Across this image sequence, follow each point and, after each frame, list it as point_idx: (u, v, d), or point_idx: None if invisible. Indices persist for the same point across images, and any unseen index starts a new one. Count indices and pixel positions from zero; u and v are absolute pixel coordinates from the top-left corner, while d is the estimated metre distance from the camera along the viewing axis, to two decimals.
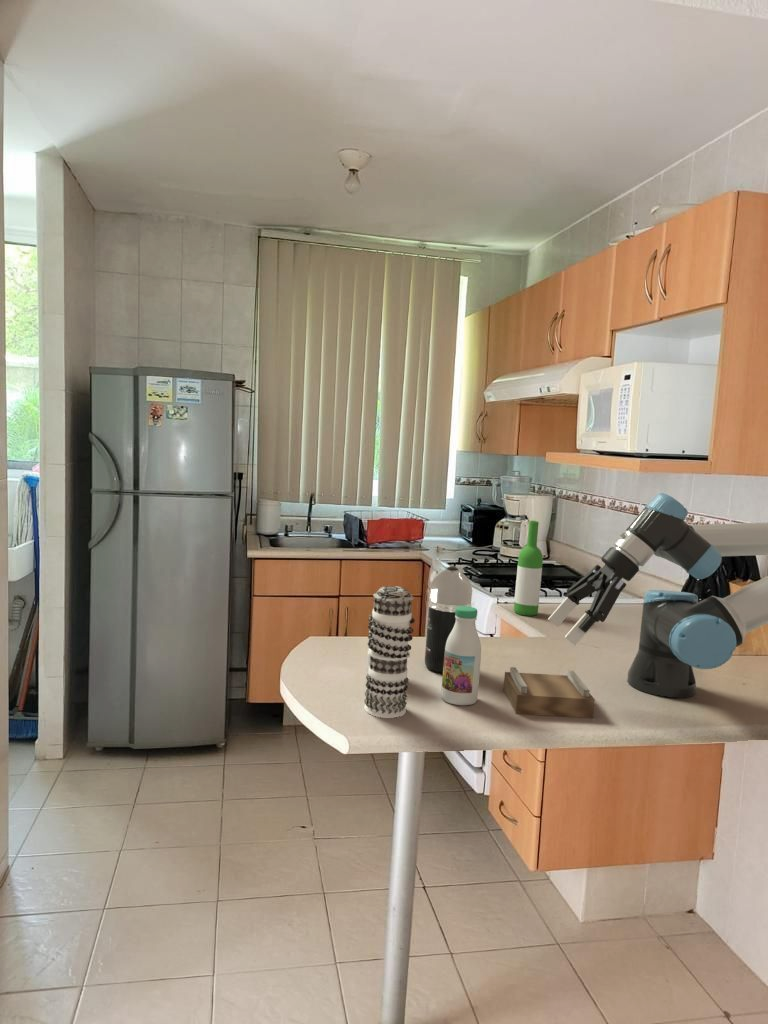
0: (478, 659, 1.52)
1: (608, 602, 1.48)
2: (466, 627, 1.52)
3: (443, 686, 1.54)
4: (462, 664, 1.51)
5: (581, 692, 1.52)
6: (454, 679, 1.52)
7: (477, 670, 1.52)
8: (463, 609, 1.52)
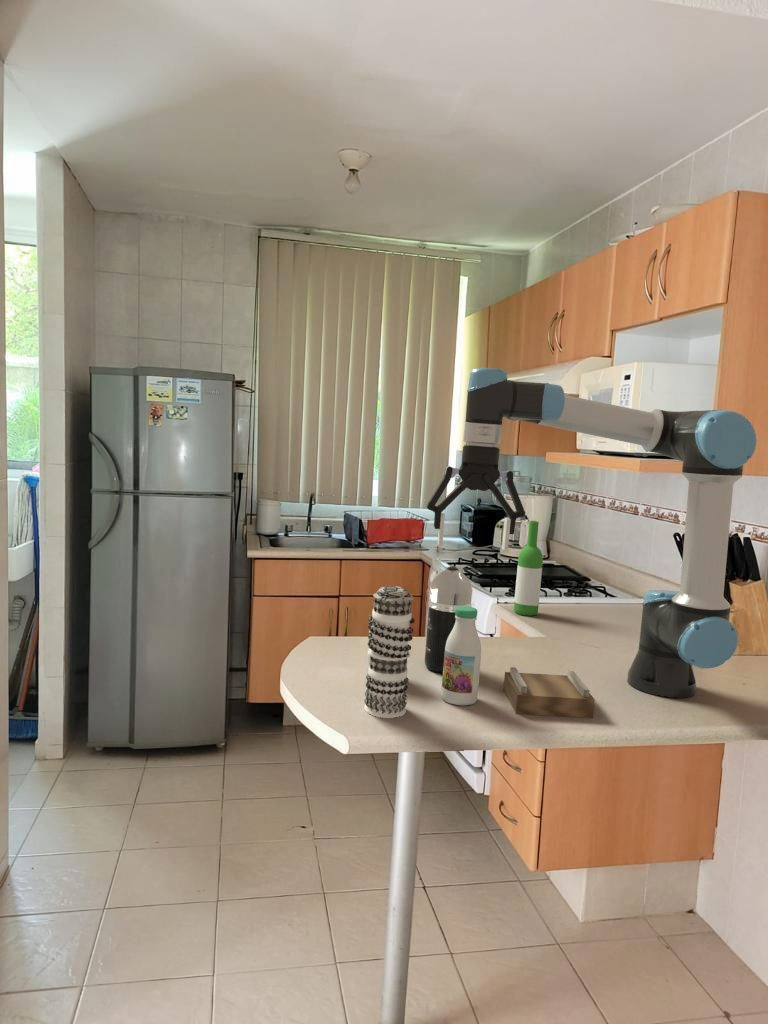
0: (478, 659, 1.52)
1: None
2: (466, 627, 1.52)
3: (443, 686, 1.54)
4: (462, 664, 1.51)
5: (581, 692, 1.52)
6: (454, 679, 1.52)
7: (477, 670, 1.52)
8: (463, 609, 1.52)
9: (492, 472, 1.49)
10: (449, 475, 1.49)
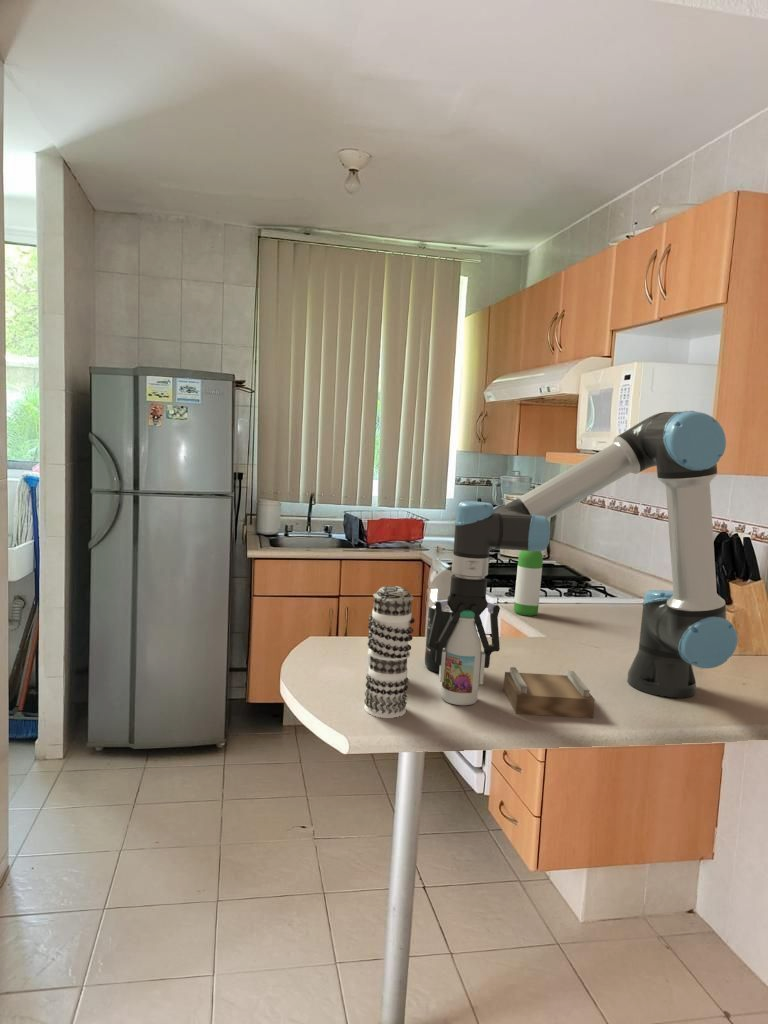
0: (478, 659, 1.52)
1: None
2: (466, 627, 1.52)
3: (443, 686, 1.54)
4: (462, 664, 1.51)
5: (581, 692, 1.52)
6: (454, 679, 1.52)
7: (477, 670, 1.52)
8: None
9: (480, 602, 1.52)
10: (439, 610, 1.52)
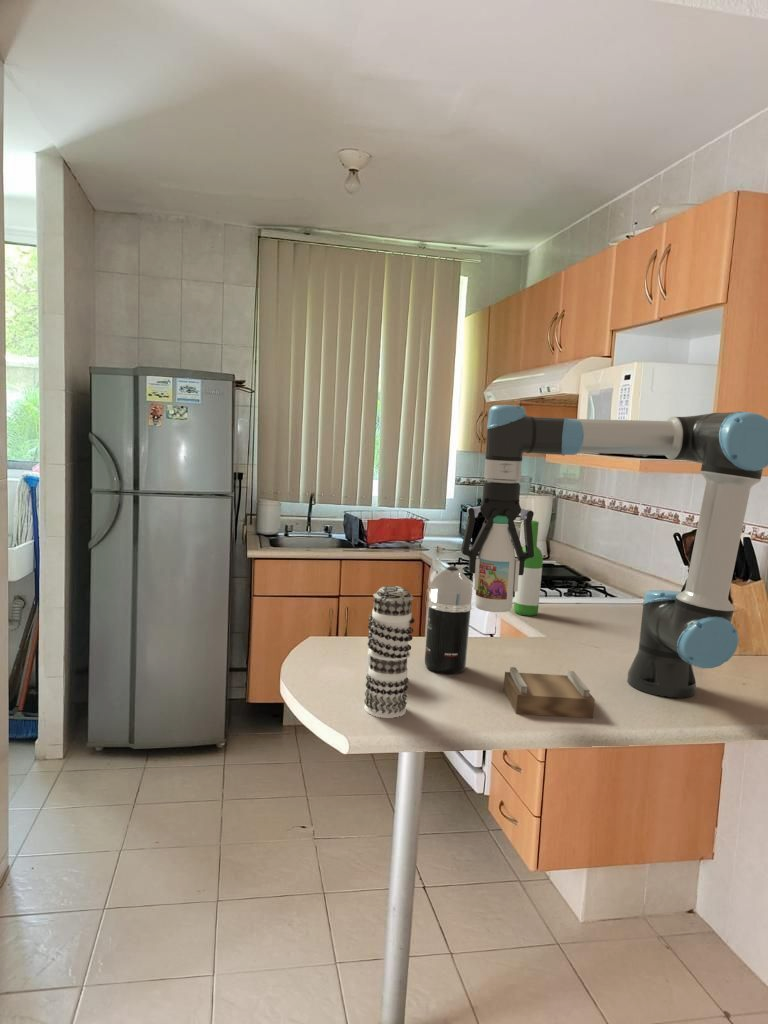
0: (512, 565, 1.50)
1: None
2: (499, 533, 1.50)
3: (477, 594, 1.52)
4: (497, 570, 1.49)
5: (581, 692, 1.52)
6: (488, 585, 1.50)
7: (512, 576, 1.51)
8: None
9: (514, 507, 1.50)
10: (472, 516, 1.50)
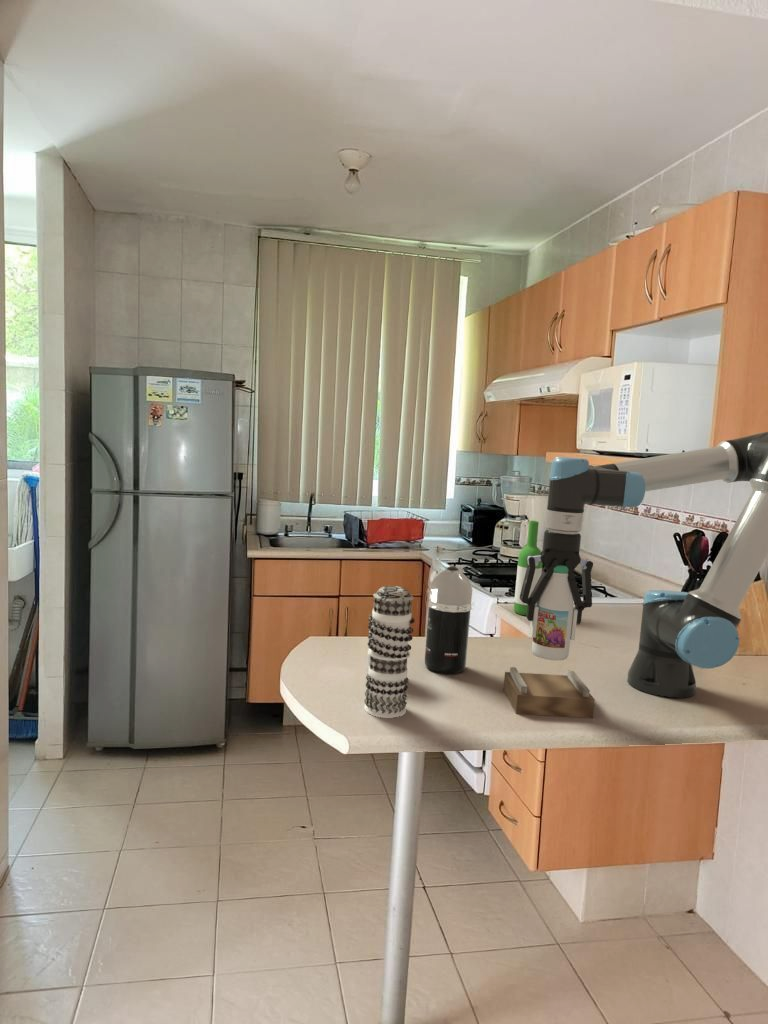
0: (571, 614, 1.53)
1: None
2: (559, 582, 1.52)
3: (535, 641, 1.54)
4: (556, 619, 1.51)
5: (581, 692, 1.52)
6: (547, 633, 1.52)
7: (570, 625, 1.53)
8: None
9: (574, 557, 1.52)
10: (533, 565, 1.52)
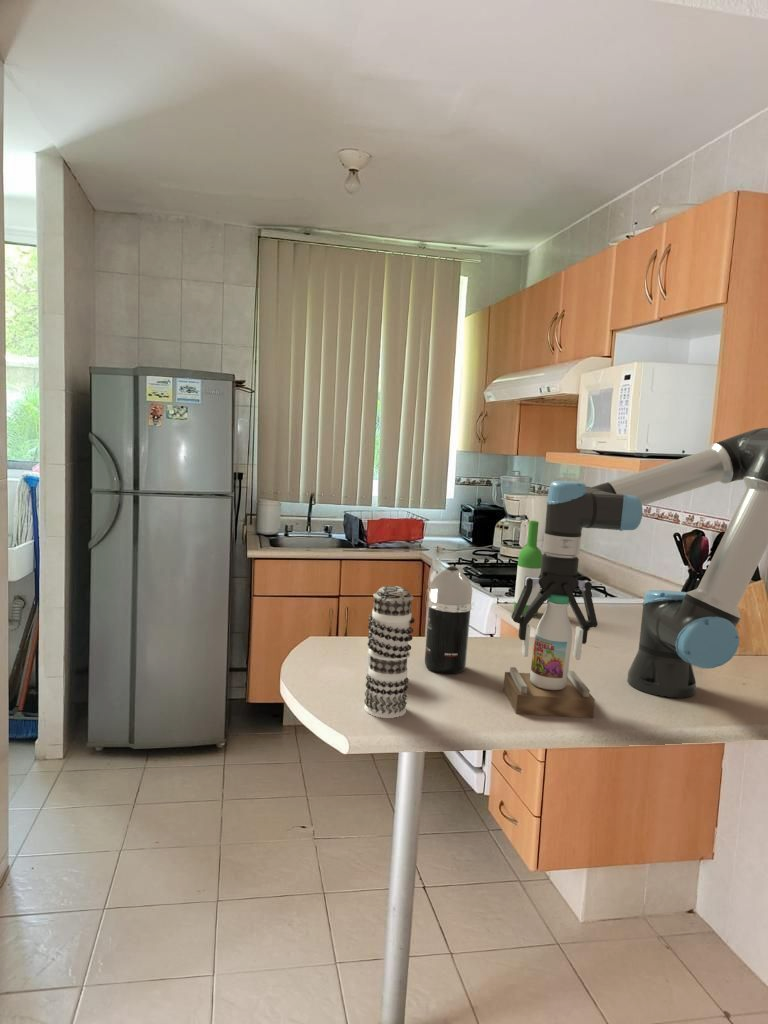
0: (570, 645, 1.53)
1: None
2: (558, 613, 1.53)
3: (533, 671, 1.55)
4: (554, 649, 1.52)
5: (581, 692, 1.52)
6: (545, 664, 1.53)
7: (568, 656, 1.53)
8: (556, 595, 1.53)
9: (572, 581, 1.53)
10: (530, 586, 1.53)
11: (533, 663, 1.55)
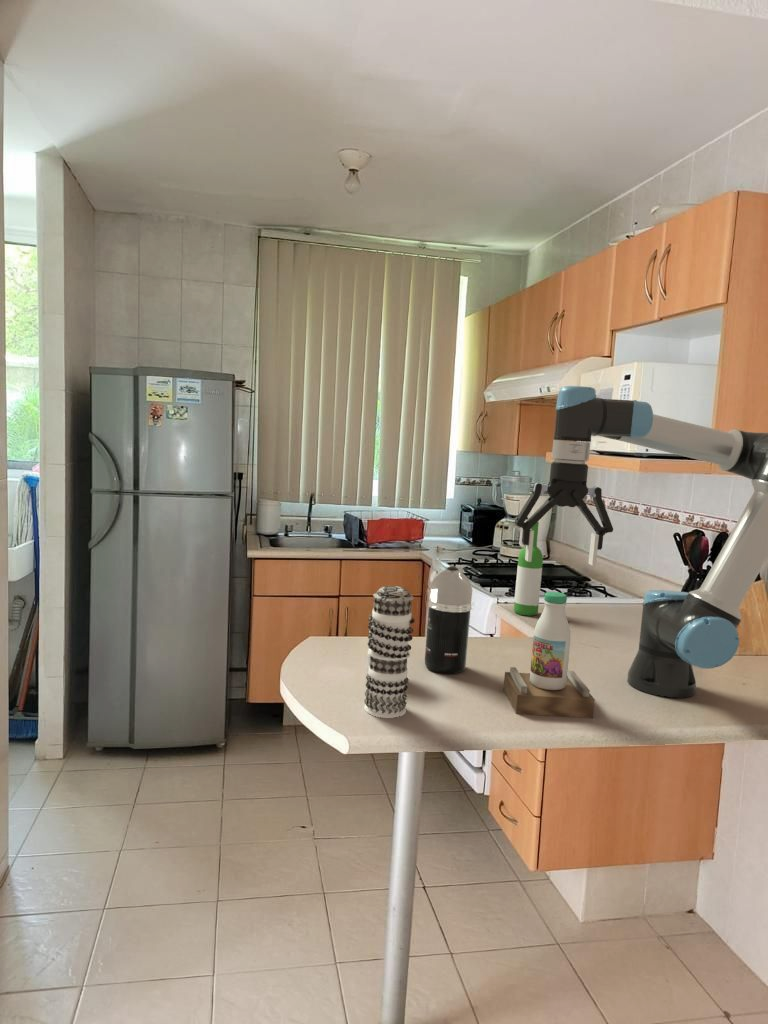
0: (568, 644, 1.53)
1: None
2: (556, 613, 1.53)
3: (532, 671, 1.55)
4: (553, 649, 1.52)
5: (581, 692, 1.52)
6: (545, 664, 1.53)
7: (567, 655, 1.54)
8: (553, 595, 1.53)
9: (581, 489, 1.51)
10: (538, 492, 1.51)
11: (532, 664, 1.55)
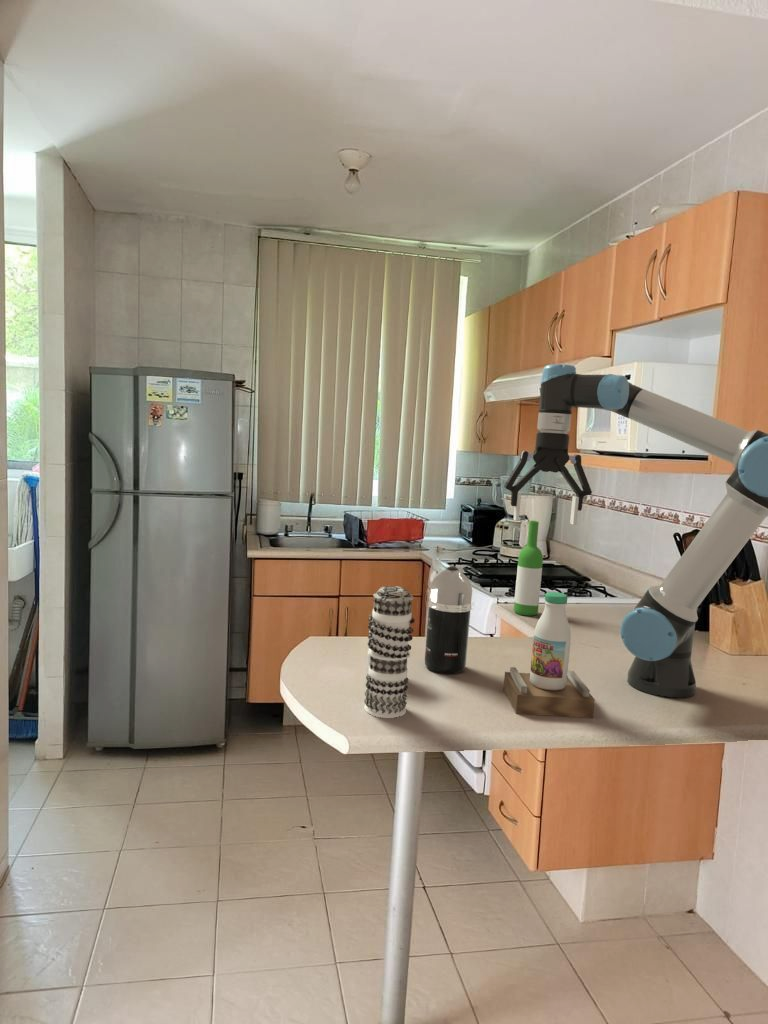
0: (568, 644, 1.53)
1: None
2: (556, 613, 1.53)
3: (533, 671, 1.55)
4: (553, 649, 1.52)
5: (581, 692, 1.52)
6: (545, 664, 1.53)
7: (567, 655, 1.54)
8: (554, 595, 1.53)
9: (563, 456, 1.70)
10: (525, 459, 1.70)
11: (532, 664, 1.55)
